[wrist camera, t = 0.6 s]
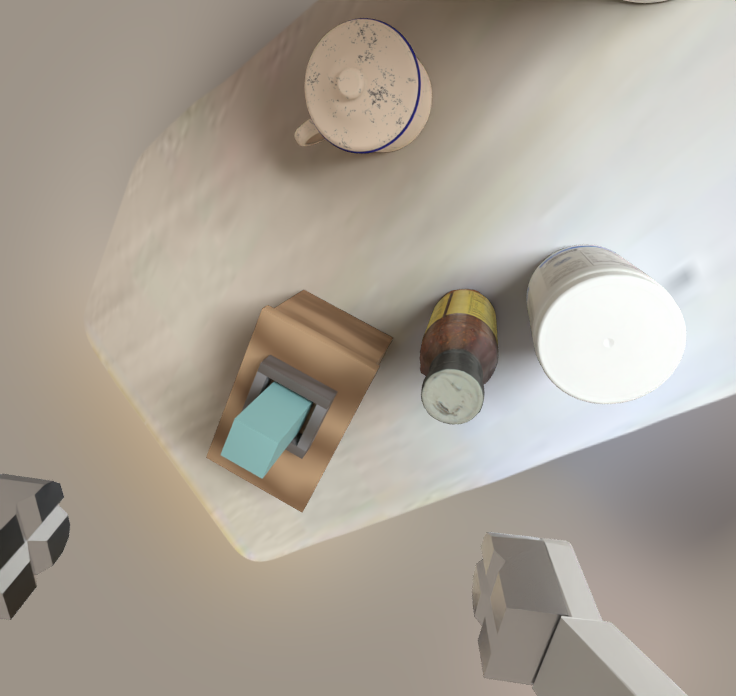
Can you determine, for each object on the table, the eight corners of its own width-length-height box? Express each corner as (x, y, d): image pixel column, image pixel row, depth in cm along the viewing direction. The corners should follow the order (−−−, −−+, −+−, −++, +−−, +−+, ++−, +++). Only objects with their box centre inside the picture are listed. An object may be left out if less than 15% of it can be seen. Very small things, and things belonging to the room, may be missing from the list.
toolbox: (302, 284, 53) (251, 314, 43) (398, 336, 52) (371, 380, 42) (247, 419, 61) (193, 472, 51) (329, 465, 60) (292, 529, 50)
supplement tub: (604, 355, 48) (643, 429, 34) (509, 321, 49) (511, 381, 35) (655, 260, 44) (721, 303, 30) (550, 226, 45) (570, 253, 32)
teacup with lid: (408, 21, 42) (375, -27, 32) (452, 122, 44) (435, 110, 33) (296, 98, 47) (235, 79, 36) (340, 187, 48) (295, 194, 38)
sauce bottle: (446, 351, 52) (415, 453, 34) (425, 297, 50) (380, 372, 32) (508, 333, 49) (510, 431, 31) (488, 275, 48) (477, 343, 30)
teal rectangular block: (279, 376, 46) (234, 418, 39) (316, 396, 46) (278, 443, 38) (266, 408, 48) (220, 454, 40) (301, 428, 48) (262, 478, 40)
